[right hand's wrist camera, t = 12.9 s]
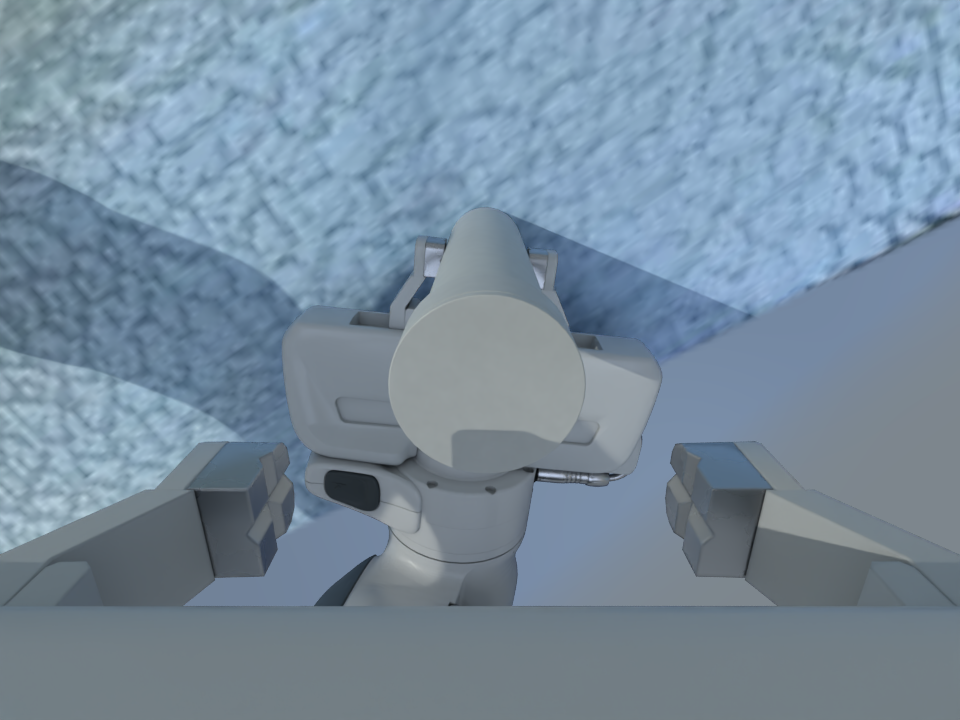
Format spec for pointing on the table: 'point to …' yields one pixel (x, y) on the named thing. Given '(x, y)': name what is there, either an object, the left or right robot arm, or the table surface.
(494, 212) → the tall grey cylinder
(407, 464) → the left robot arm
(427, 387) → the lid
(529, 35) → the table surface
